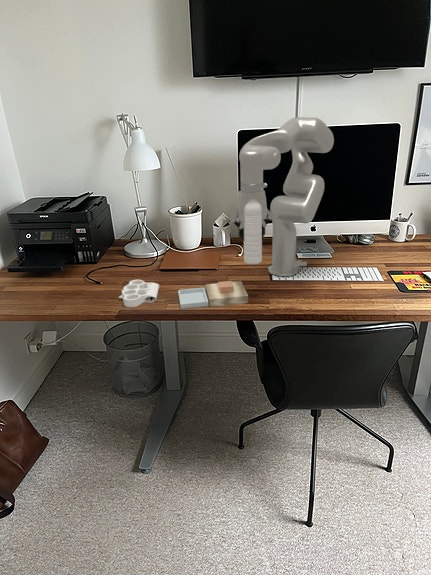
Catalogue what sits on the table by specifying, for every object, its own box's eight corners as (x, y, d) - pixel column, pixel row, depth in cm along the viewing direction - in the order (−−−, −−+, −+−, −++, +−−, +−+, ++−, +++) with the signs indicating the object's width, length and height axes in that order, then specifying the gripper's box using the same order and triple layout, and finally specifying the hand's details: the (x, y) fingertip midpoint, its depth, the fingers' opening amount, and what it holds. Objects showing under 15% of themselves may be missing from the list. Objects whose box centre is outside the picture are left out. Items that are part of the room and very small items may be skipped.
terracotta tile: (231, 286, 170) (231, 280, 169) (233, 292, 165) (233, 286, 164) (218, 287, 169) (218, 282, 168) (220, 293, 165) (220, 287, 164)
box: (204, 292, 173) (204, 287, 172) (208, 306, 162) (208, 301, 161) (178, 294, 172) (178, 290, 171) (180, 309, 161) (180, 304, 160)
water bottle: (264, 263, 160) (264, 194, 149) (246, 265, 159) (245, 195, 148) (257, 254, 168) (256, 188, 157) (240, 256, 167) (238, 189, 156)
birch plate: (241, 287, 175) (240, 280, 174) (248, 303, 163) (248, 295, 162) (205, 291, 174) (205, 284, 172) (210, 307, 162) (209, 299, 161)
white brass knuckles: (155, 307, 165) (115, 308, 164) (160, 286, 181) (123, 287, 181) (154, 298, 163) (114, 300, 163) (159, 278, 179) (122, 280, 179)
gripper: (273, 183, 157) (272, 232, 164) (224, 187, 155) (226, 236, 162) (279, 188, 150) (278, 239, 158) (228, 192, 148) (229, 243, 156)
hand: (251, 237), depth 160 cm, fingers closed on water bottle, 6 cm apart
